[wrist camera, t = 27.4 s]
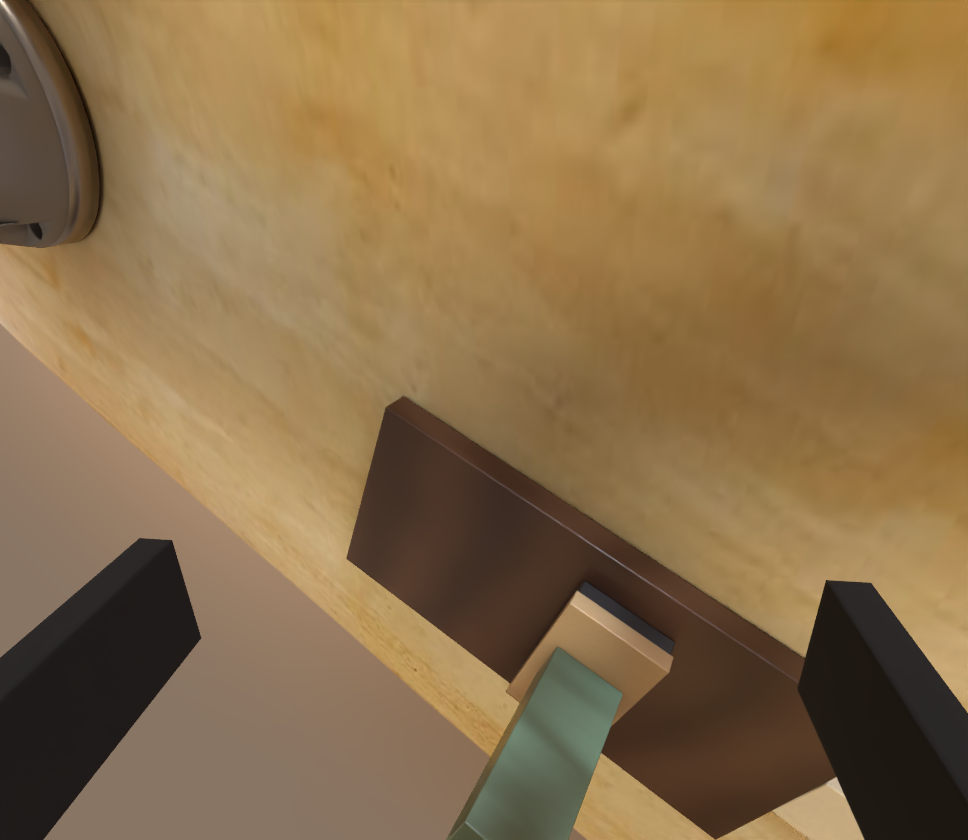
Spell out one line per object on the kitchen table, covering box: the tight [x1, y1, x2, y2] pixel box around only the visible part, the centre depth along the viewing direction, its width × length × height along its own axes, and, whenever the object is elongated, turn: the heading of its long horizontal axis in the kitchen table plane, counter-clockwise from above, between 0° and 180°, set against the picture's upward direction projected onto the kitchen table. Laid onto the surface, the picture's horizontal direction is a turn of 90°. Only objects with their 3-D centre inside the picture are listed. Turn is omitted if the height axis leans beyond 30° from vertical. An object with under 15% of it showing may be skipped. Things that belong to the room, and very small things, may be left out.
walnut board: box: [347, 397, 836, 839], centre depth 30 cm, size 26×13×2 cm, turn 69°
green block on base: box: [446, 581, 675, 840], centre depth 25 cm, size 5×9×10 cm, turn 159°
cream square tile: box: [772, 777, 864, 840], centre depth 26 cm, size 4×4×1 cm
